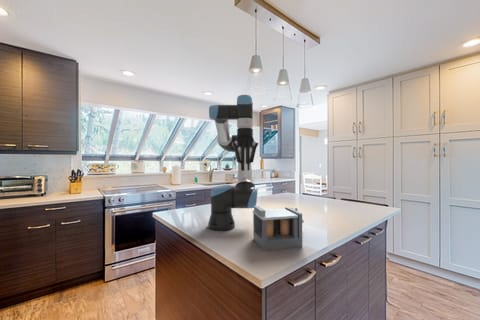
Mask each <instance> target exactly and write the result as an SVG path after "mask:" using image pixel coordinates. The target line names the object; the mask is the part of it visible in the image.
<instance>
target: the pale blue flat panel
mask: <svg viewBox="0 0 480 320" xmlns="http://www.w3.org/2000/svg"><path fill="white" fill-rule="evenodd" d="M253 213H254V214H255V215H257V216H258V217H259V218H260V219H261V220H274V219H287V218H298V215H296V214H294V213H292V212H290V211H288V210H286V209H285V207H284V208H271V209H264V208H262V207H260V205H256V206H254V208H253V210H252V214H253Z"/></svg>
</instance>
